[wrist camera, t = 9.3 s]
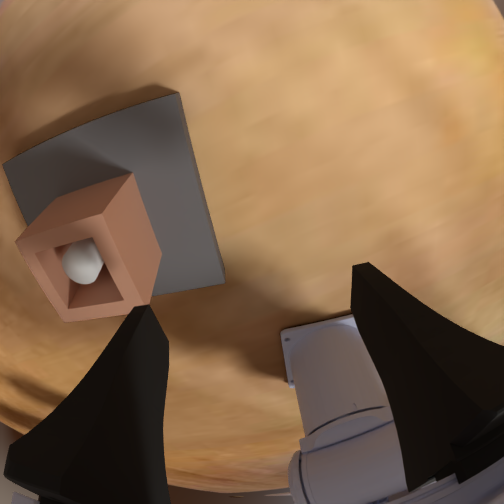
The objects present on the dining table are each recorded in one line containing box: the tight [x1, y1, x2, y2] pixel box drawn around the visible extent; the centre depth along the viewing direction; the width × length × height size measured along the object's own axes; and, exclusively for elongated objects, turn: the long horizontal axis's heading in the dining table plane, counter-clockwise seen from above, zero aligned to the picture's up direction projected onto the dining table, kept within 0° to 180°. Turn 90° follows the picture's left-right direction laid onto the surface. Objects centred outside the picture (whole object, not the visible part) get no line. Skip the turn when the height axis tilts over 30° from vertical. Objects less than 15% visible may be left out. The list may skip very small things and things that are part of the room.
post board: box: [2, 92, 225, 296], centre depth 15 cm, size 12×12×6 cm
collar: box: [15, 173, 162, 323], centre depth 15 cm, size 5×5×5 cm
